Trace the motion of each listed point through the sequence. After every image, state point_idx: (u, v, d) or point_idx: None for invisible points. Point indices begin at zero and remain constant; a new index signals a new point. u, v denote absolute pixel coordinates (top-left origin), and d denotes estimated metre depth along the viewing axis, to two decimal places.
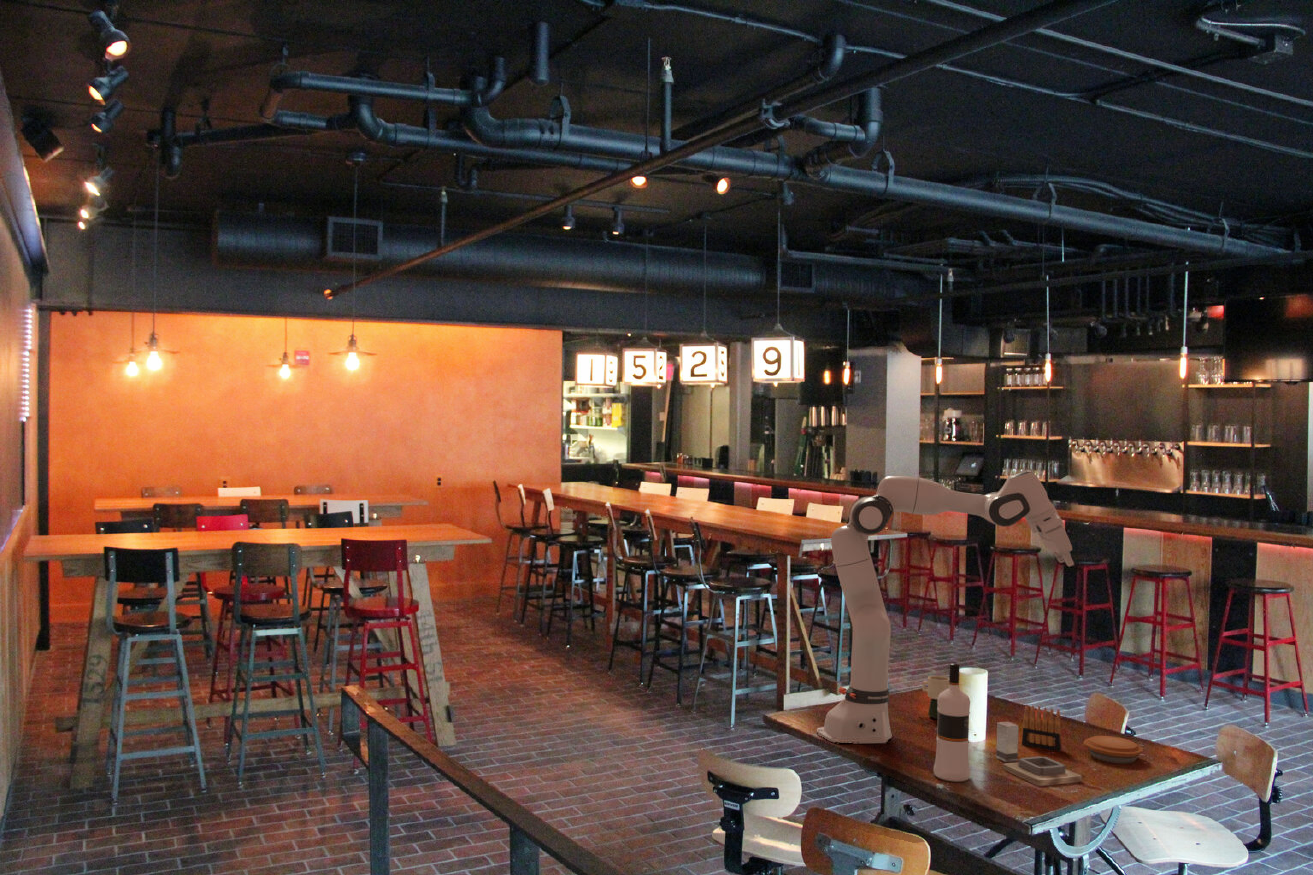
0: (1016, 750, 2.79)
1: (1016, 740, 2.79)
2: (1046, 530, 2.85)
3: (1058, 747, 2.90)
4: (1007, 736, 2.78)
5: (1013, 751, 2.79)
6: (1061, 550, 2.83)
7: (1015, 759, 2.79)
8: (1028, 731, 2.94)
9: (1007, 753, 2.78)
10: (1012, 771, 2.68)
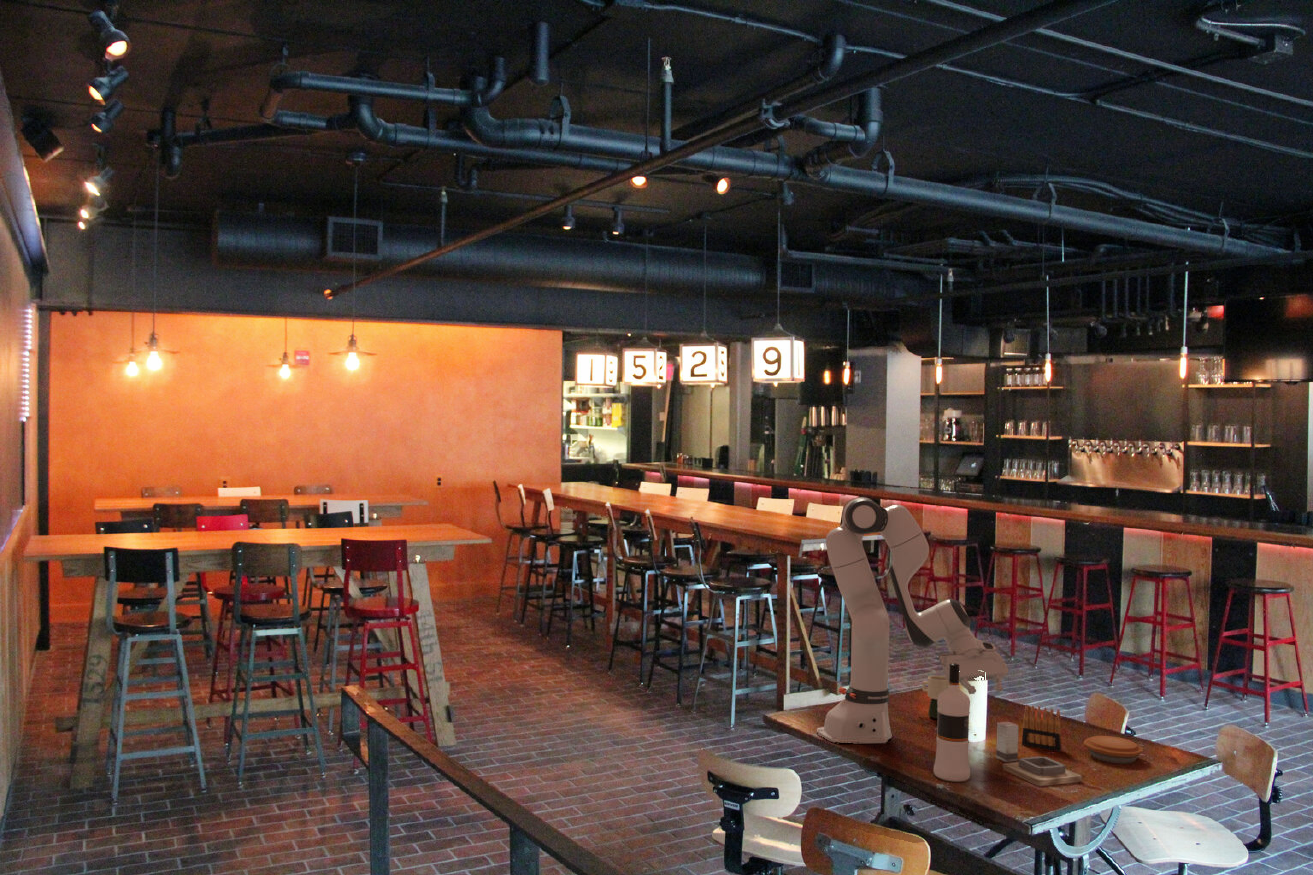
0: (1016, 750, 2.79)
1: (1016, 740, 2.79)
2: None
3: (1058, 747, 2.90)
4: (1007, 736, 2.78)
5: (1013, 751, 2.79)
6: None
7: (1015, 759, 2.79)
8: (1028, 731, 2.94)
9: (1007, 753, 2.78)
10: (1012, 771, 2.68)
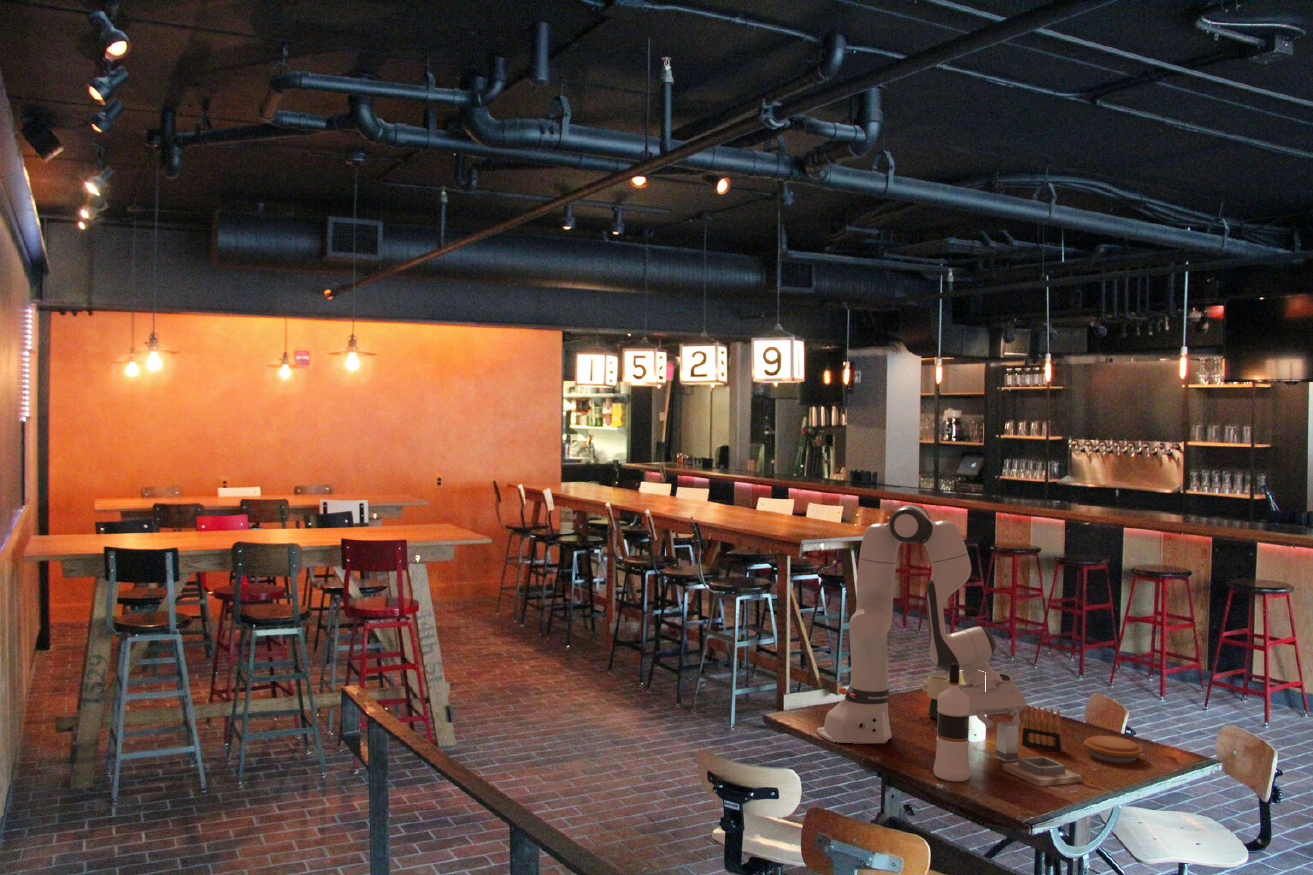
0: (1016, 750, 2.79)
1: (1016, 740, 2.79)
2: None
3: (1058, 747, 2.90)
4: (1007, 736, 2.78)
5: (1013, 751, 2.79)
6: None
7: (1015, 759, 2.79)
8: (1028, 731, 2.94)
9: (1007, 753, 2.78)
10: (1012, 771, 2.68)
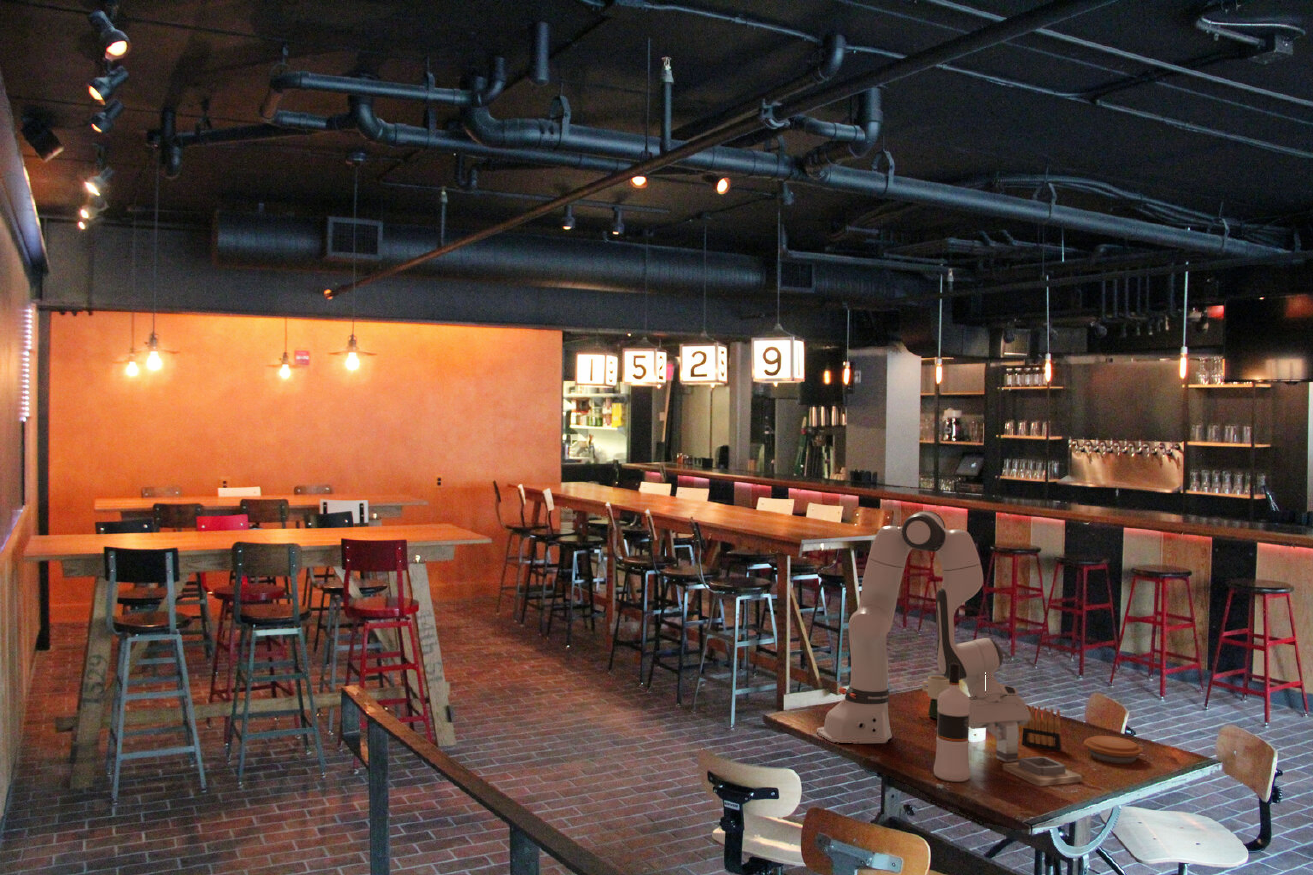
0: (1016, 750, 2.79)
1: (1016, 740, 2.79)
2: None
3: (1058, 747, 2.90)
4: (1007, 736, 2.78)
5: (1013, 751, 2.79)
6: None
7: (1015, 759, 2.79)
8: (1028, 731, 2.94)
9: (1007, 753, 2.78)
10: (1012, 771, 2.68)
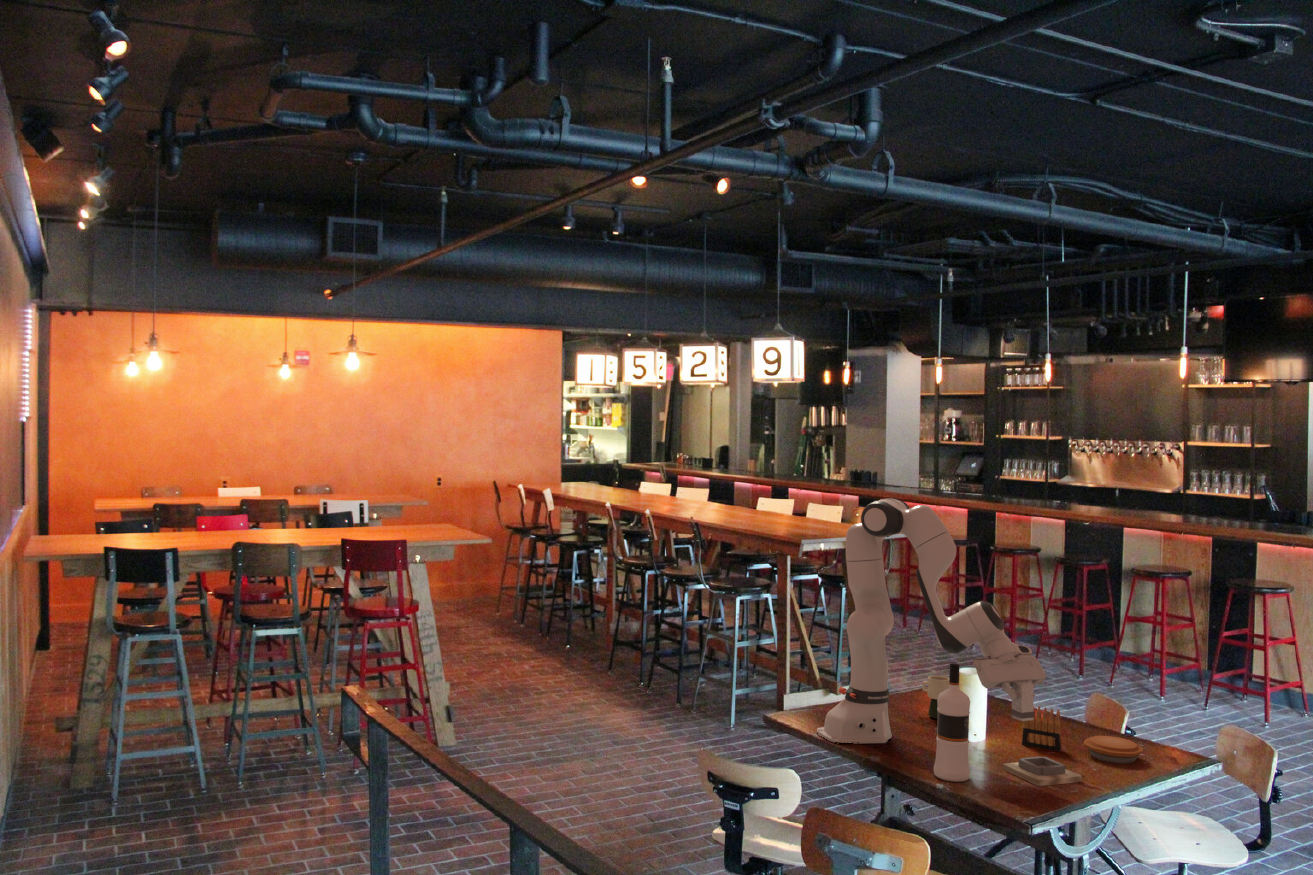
0: (1032, 709, 2.74)
1: (1032, 698, 2.75)
2: None
3: (1058, 747, 2.90)
4: (1022, 695, 2.73)
5: (1029, 710, 2.74)
6: None
7: (1031, 718, 2.74)
8: (1028, 731, 2.94)
9: (1023, 712, 2.73)
10: (1012, 771, 2.68)
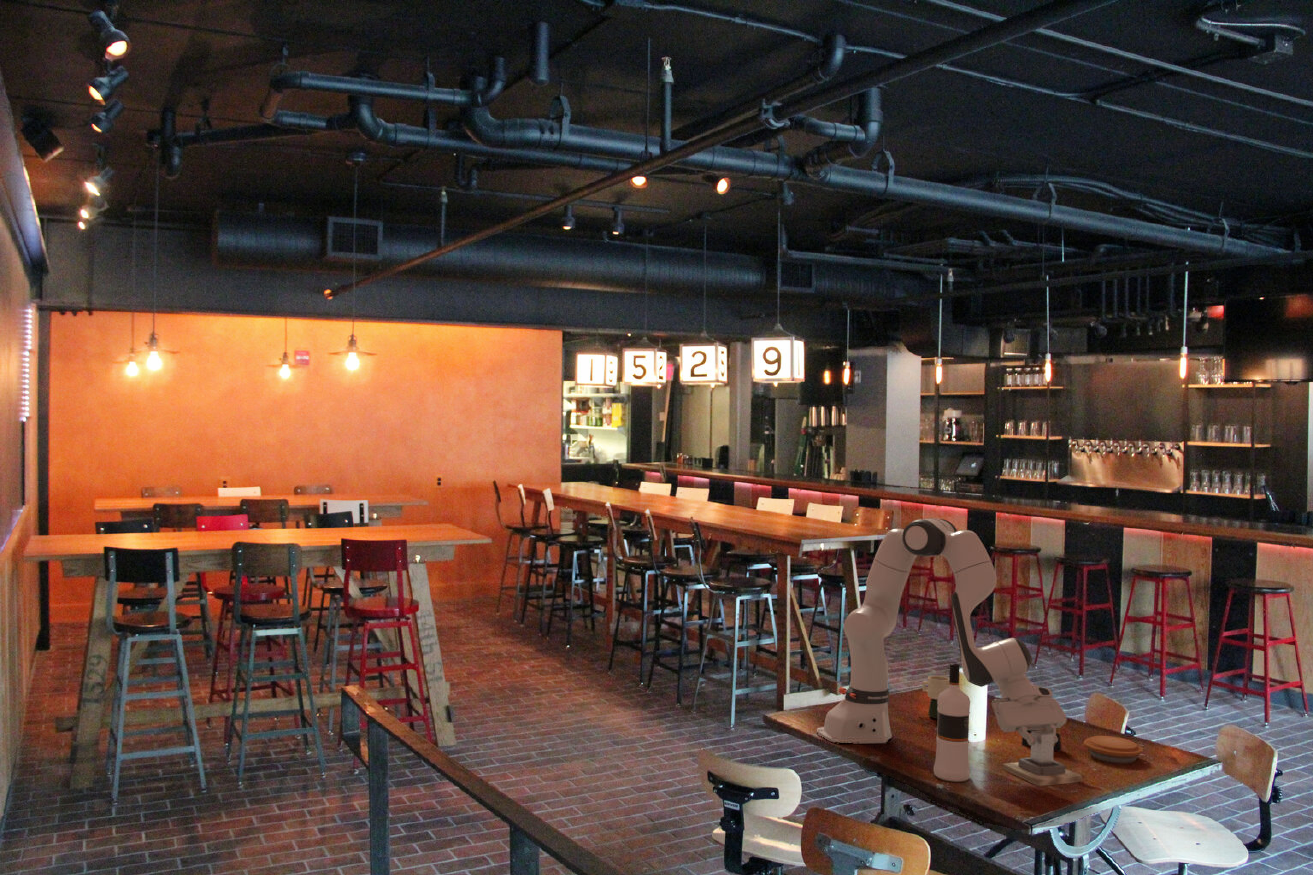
0: (1051, 760, 2.66)
1: (1052, 749, 2.66)
2: None
3: (1058, 747, 2.90)
4: (1042, 745, 2.65)
5: (1048, 761, 2.65)
6: None
7: None
8: (1028, 731, 2.94)
9: (1042, 763, 2.65)
10: (1012, 771, 2.68)
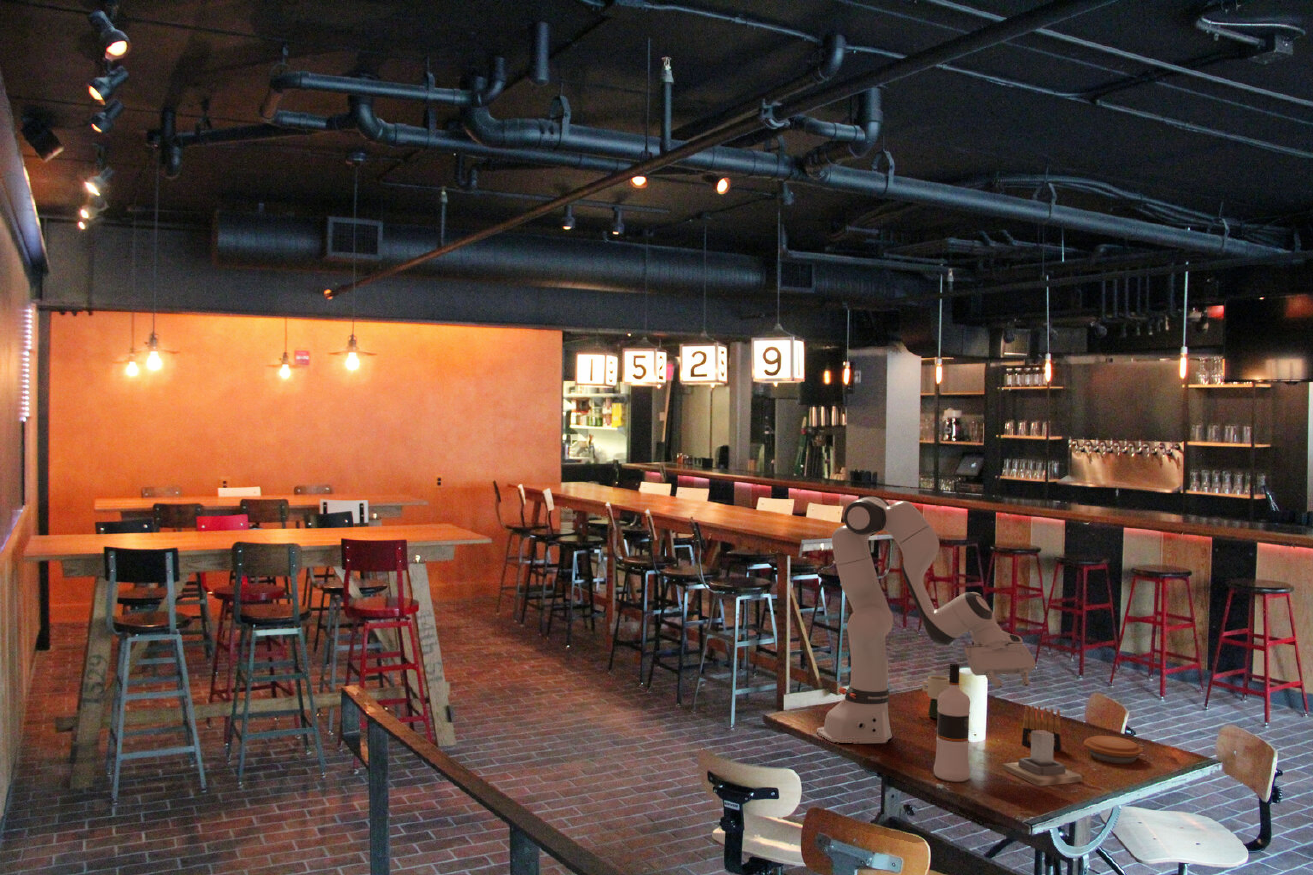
0: (1051, 760, 2.66)
1: (1052, 749, 2.66)
2: None
3: (1058, 747, 2.90)
4: (1042, 745, 2.65)
5: (1048, 761, 2.65)
6: None
7: None
8: (1028, 731, 2.94)
9: (1042, 763, 2.65)
10: (1012, 771, 2.68)
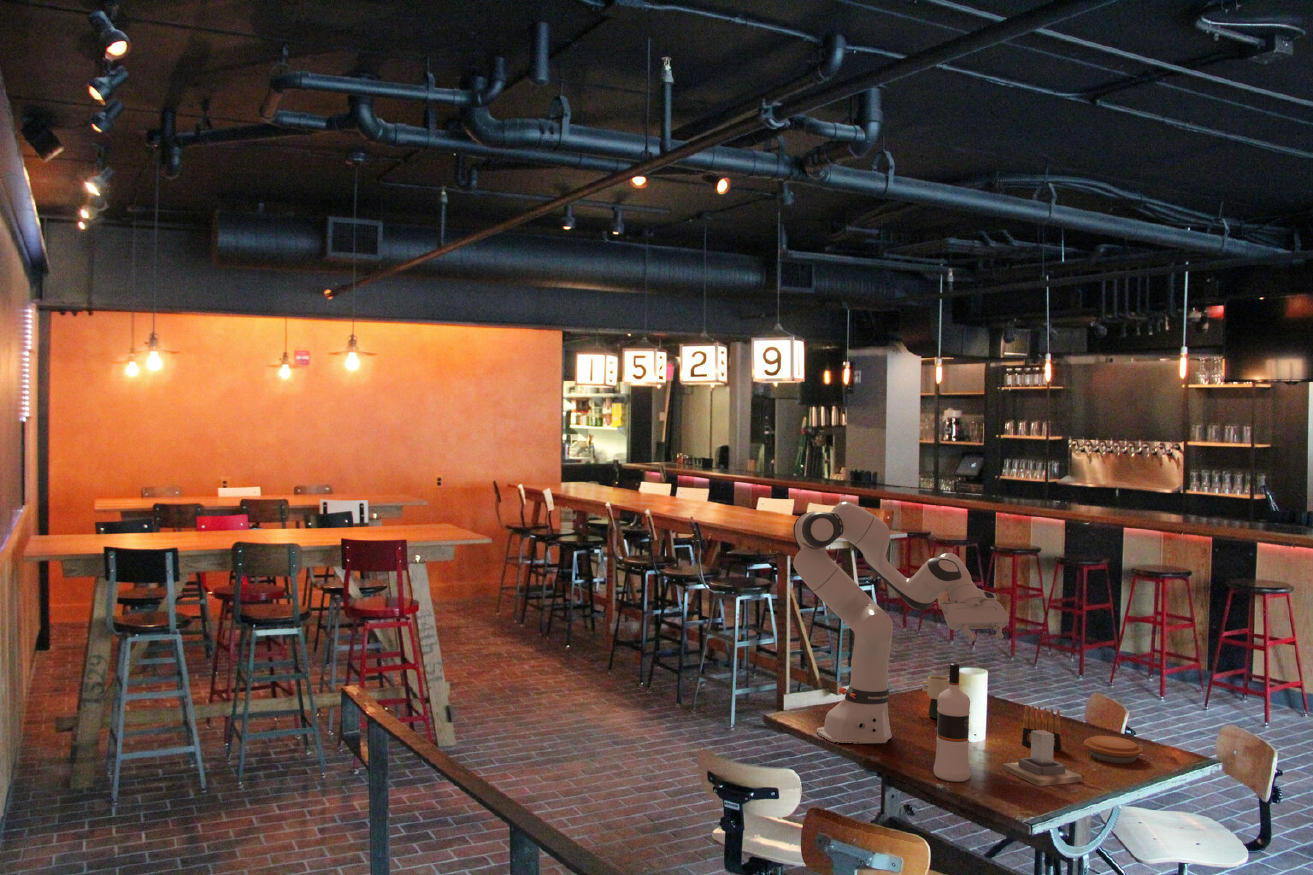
0: (1051, 760, 2.66)
1: (1052, 749, 2.66)
2: None
3: (1058, 747, 2.90)
4: (1042, 745, 2.65)
5: (1048, 761, 2.65)
6: None
7: None
8: (1028, 731, 2.94)
9: (1042, 763, 2.65)
10: (1012, 771, 2.68)
